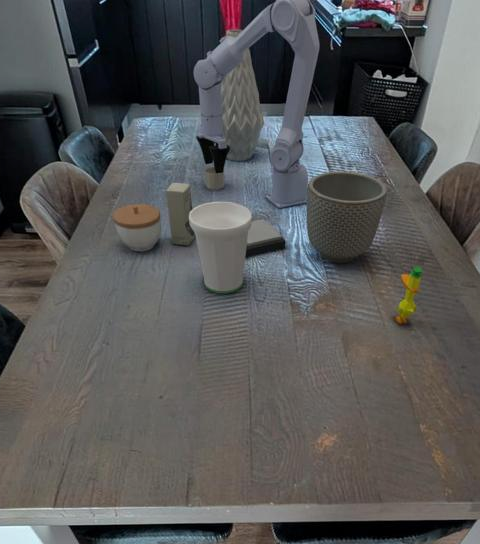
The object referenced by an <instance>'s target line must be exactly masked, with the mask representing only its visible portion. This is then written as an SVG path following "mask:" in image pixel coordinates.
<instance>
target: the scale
mask: <svg viewBox="0 0 480 544" xmlns="http://www.w3.org/2000/svg"><path fill="white" fill-rule="evenodd" d="M286 241H287V240H286V239H285V238H283V235H282V234H281V233H280V232H278V231H277V230H276V229H275V228H274V227H273V226H272V225H271V224H269V222H267V221H266V220H265V219H264V218H262V219H257V220H253V221H252V220H251V228H250V229H249V231H248V237H247V246H246V256H245V259H246V258H250V257H254V256H258V255H262V254H267V253H270V252H275V251H279V250H282V249H283V250H284V249H286V245H287V243H286Z"/></svg>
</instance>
